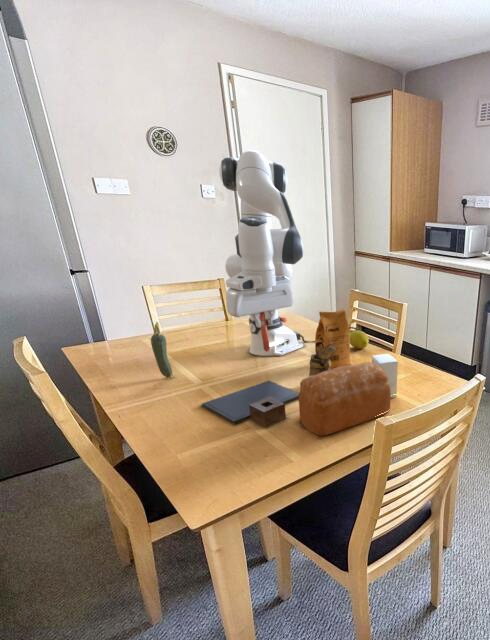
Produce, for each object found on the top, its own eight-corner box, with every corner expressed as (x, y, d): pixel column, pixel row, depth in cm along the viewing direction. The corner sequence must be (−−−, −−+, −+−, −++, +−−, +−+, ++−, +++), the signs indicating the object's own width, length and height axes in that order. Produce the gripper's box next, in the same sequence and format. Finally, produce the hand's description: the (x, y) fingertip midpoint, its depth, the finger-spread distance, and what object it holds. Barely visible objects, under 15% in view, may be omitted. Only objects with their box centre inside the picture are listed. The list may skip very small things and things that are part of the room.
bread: (394, 413, 127) (396, 366, 121) (320, 440, 110) (317, 388, 104) (368, 397, 136) (368, 353, 130) (295, 420, 119) (292, 371, 113)
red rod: (268, 350, 126) (261, 305, 121) (271, 351, 125) (264, 306, 120) (263, 351, 125) (255, 306, 120) (266, 352, 124) (259, 307, 119)
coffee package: (313, 363, 161) (310, 309, 152) (341, 358, 168) (340, 305, 159) (323, 372, 154) (321, 315, 145) (352, 366, 161) (352, 311, 152)
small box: (396, 397, 137) (398, 361, 132) (379, 400, 135) (380, 363, 129) (387, 387, 144) (388, 353, 139) (370, 390, 141) (371, 355, 136)
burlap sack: (318, 399, 133) (316, 347, 126) (303, 384, 143) (300, 335, 136) (343, 393, 138) (342, 343, 130) (327, 379, 148) (325, 332, 140)
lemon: (372, 350, 180) (372, 332, 177) (357, 353, 175) (357, 335, 172) (359, 343, 187) (359, 326, 184) (344, 346, 183) (344, 329, 179)
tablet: (269, 383, 142) (269, 380, 142) (301, 397, 134) (301, 394, 133) (202, 406, 124) (201, 403, 124) (234, 424, 116) (234, 421, 115)
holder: (271, 411, 124) (269, 396, 122) (286, 418, 120) (284, 403, 118) (250, 419, 118) (248, 404, 116) (265, 427, 115) (264, 412, 113)
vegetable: (167, 381, 139) (154, 324, 131) (156, 380, 140) (143, 323, 131) (176, 377, 143) (165, 321, 135) (165, 375, 144) (153, 320, 135)
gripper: (282, 273, 125) (286, 317, 131) (220, 281, 110) (227, 330, 116) (296, 276, 122) (299, 321, 128) (233, 285, 107) (240, 335, 112)
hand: (264, 325), depth 122 cm, fingers closed on red rod, 2 cm apart
